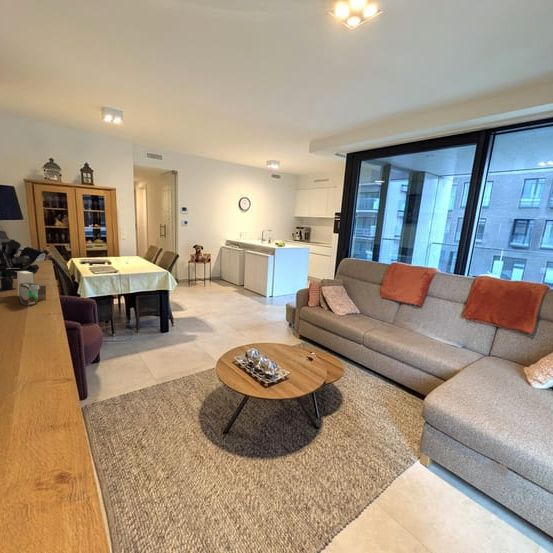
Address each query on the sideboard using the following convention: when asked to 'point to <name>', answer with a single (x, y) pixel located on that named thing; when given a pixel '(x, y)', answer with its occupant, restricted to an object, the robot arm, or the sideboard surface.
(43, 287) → the dispenser
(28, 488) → the sideboard surface
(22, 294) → the food container
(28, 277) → the white upright block
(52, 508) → the sideboard surface
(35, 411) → the sideboard surface
